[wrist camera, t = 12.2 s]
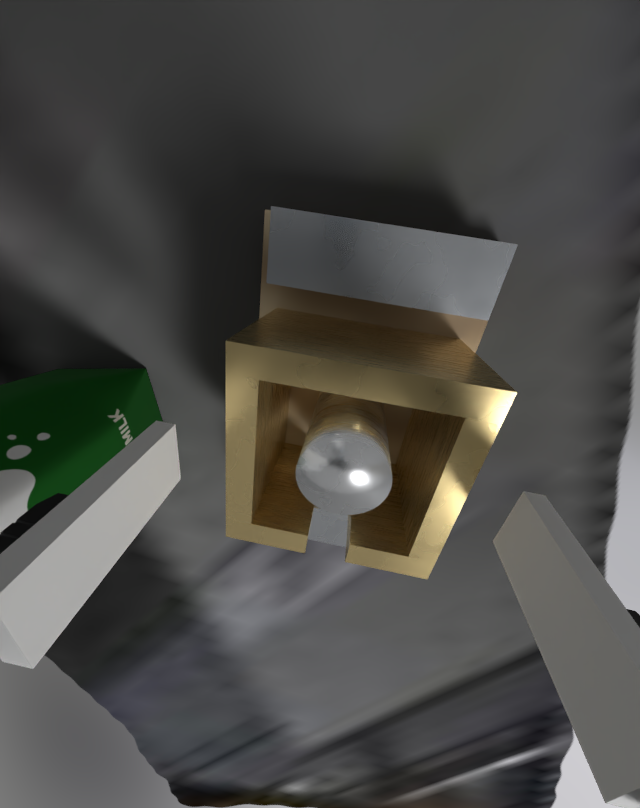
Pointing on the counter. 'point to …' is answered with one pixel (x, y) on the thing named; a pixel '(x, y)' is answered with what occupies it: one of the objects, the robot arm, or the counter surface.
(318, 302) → the bench plate
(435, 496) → the gold square frame
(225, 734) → the counter surface
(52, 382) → the milk carton
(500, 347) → the counter surface
